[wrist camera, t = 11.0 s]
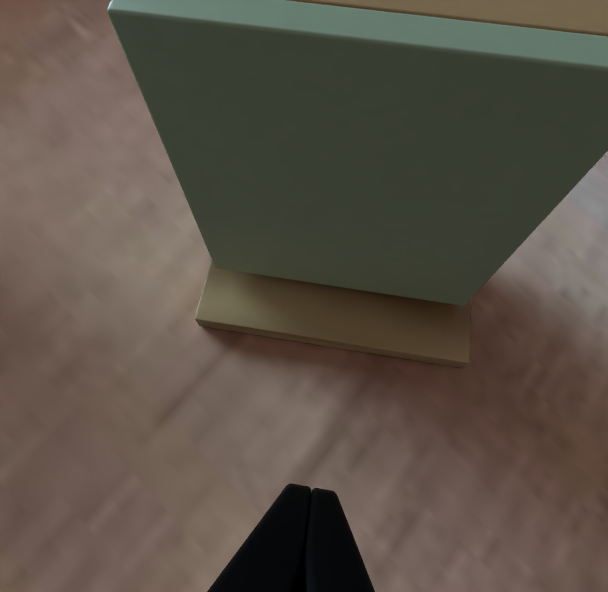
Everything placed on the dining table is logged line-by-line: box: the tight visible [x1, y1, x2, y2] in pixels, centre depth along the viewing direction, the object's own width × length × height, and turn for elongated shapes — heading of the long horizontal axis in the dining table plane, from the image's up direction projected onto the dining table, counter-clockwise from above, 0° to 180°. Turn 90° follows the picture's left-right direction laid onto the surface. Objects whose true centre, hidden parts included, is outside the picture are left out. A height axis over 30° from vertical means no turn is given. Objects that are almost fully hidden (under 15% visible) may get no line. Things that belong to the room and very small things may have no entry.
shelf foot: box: [195, 259, 471, 368], centre depth 23 cm, size 6×13×1 cm, turn 80°
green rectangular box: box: [108, 0, 608, 306], centre depth 16 cm, size 5×12×13 cm, turn 80°
